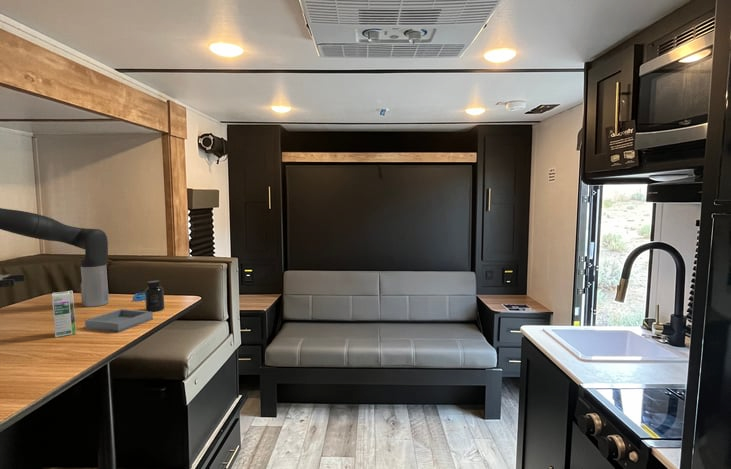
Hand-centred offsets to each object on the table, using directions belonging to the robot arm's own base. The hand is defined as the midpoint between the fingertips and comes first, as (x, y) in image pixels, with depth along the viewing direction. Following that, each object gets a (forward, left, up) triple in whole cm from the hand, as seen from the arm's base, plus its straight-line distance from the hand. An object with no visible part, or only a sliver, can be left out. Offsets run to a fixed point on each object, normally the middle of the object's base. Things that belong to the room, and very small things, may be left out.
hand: (19, 280), depth 130 cm
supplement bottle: (+15, +39, -20) cm, 47 cm away
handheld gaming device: (-6, +55, -20) cm, 59 cm away
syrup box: (+8, +7, -20) cm, 23 cm away
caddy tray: (+17, +21, -20) cm, 34 cm away
